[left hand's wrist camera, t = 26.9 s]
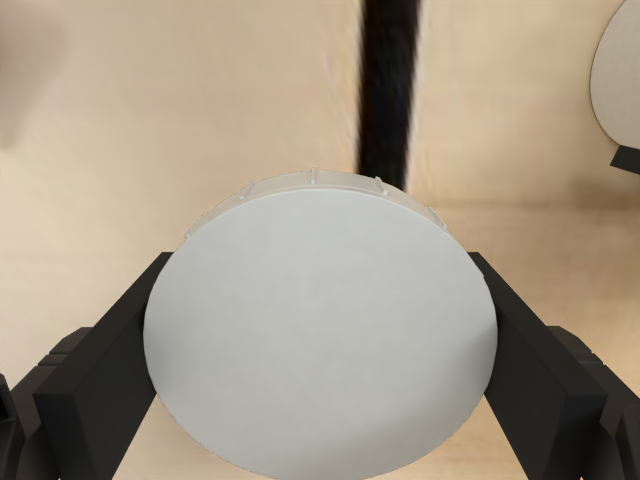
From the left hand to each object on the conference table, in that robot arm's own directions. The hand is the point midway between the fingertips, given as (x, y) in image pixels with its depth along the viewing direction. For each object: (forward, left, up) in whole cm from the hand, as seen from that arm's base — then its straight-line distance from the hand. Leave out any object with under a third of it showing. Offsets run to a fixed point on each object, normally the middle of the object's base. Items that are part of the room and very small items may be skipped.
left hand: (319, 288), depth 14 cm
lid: (0, 0, +3) cm, 3 cm away
